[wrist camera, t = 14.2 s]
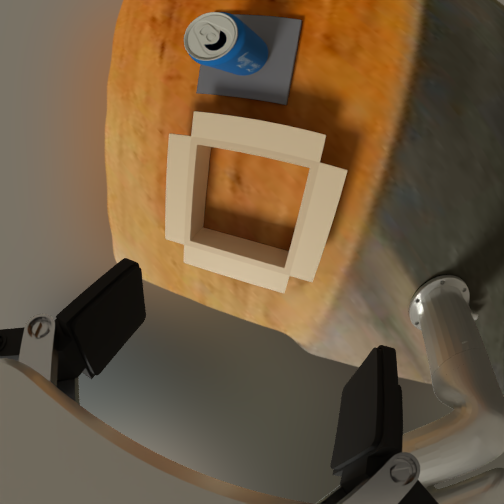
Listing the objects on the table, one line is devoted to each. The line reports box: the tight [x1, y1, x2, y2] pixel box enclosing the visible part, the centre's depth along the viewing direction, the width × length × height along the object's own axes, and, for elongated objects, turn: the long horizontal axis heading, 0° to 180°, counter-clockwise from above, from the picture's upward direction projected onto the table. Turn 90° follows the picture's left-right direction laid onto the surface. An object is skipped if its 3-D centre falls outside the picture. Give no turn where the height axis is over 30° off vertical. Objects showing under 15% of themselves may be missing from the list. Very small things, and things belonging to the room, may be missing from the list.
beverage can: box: [184, 12, 268, 76], centre depth 24 cm, size 6×6×12 cm
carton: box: [165, 111, 348, 293], centre depth 39 cm, size 24×24×5 cm
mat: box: [197, 15, 302, 105], centre depth 30 cm, size 13×13×1 cm
